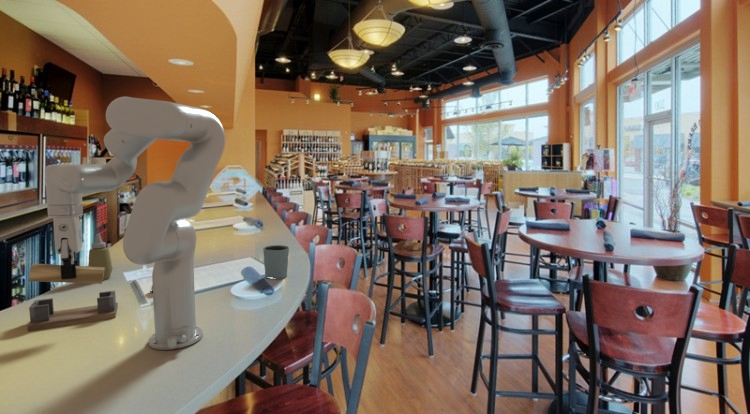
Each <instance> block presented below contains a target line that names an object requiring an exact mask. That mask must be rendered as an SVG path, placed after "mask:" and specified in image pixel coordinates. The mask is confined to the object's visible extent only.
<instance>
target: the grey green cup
mask: <svg viewBox="0 0 750 414" xmlns="http://www.w3.org/2000/svg"><path fill="white" fill-rule="evenodd" d="M262 250H263V251H262V252H263V264H264V277H265V276H266V277H273V278H277V279H276V280H282V279H286V278H287V277H288V267H289V266H288V265H289V252H290V251H289V250H290V247H289V246H286V245H283V244H281V245H280V244H275V245H267V246H264V247H263V249H262ZM266 277H265V278H266Z"/></svg>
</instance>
